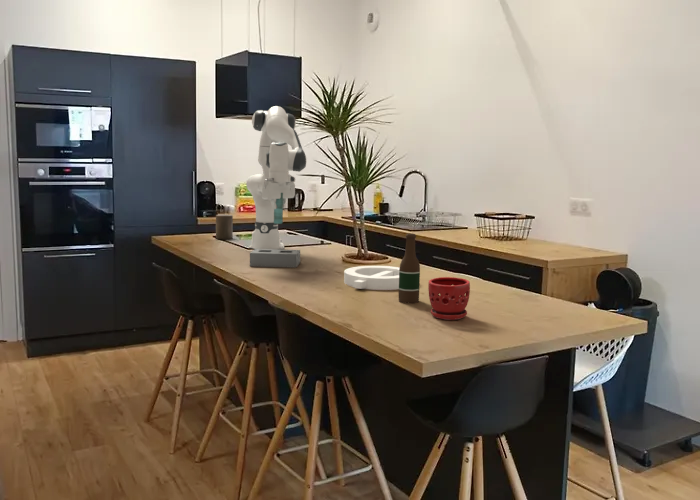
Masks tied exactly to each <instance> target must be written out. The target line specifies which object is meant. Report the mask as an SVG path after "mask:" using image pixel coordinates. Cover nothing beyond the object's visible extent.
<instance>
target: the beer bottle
mask: <svg viewBox="0 0 700 500" xmlns="http://www.w3.org/2000/svg"><path fill="white" fill-rule="evenodd" d="M405 238H406V239H405V249H404V250H405V251H404V256H403V257H402V259H401V261H400V263H399V267H400V269H399V289H398V302H399V303H402V304H416V303H419V302H420V301H419V300H420V280H421V279H420V277H421V267H420V266H421V264H420V261H419V259H418V257H417V253H416V238H417V236H416V233H411V232H410V233H406V234H405Z"/></svg>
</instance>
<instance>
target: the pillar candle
mask: <svg viewBox="0 0 700 500" xmlns="http://www.w3.org/2000/svg"><path fill="white" fill-rule="evenodd" d="M233 217H234V216H233V214H225V213H223V214H215V239H217V240H232V239H233V237H234V236H233V235H234V234H233V233H234V232H233V230H234V229H233V219H234V218H233Z"/></svg>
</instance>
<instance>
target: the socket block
mask: <svg viewBox="0 0 700 500" xmlns="http://www.w3.org/2000/svg"><path fill="white" fill-rule="evenodd" d="M300 263H301V249H285V248H284V249H253V250H251V252H249V266H250V267H266V268H273V267H274V268H298V266H299V265H300Z"/></svg>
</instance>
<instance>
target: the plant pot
mask: <svg viewBox="0 0 700 500" xmlns="http://www.w3.org/2000/svg"><path fill="white" fill-rule="evenodd" d="M470 284H471V282H470V281H469V280H468V279H466V278H462V277H454V276H452V277H451V276H448V277H447V276H445V277H444V276H443V277H440V276H439V277H434V278H431V279H429V280H428V290H427V291H428V299H429V303H430V306H431V307H432V308H431V309H430V313H431V315H432V316H433V317H434V318H437V319H439V320H445V321H454V320H455V321H458V320H461V319H464V318H465V317H466V316H467V314H468V311H467V310H466V308H467V306H468V304H469V301H470V295H471V294H470V293H471V292H470V291H471V285H470Z"/></svg>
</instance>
